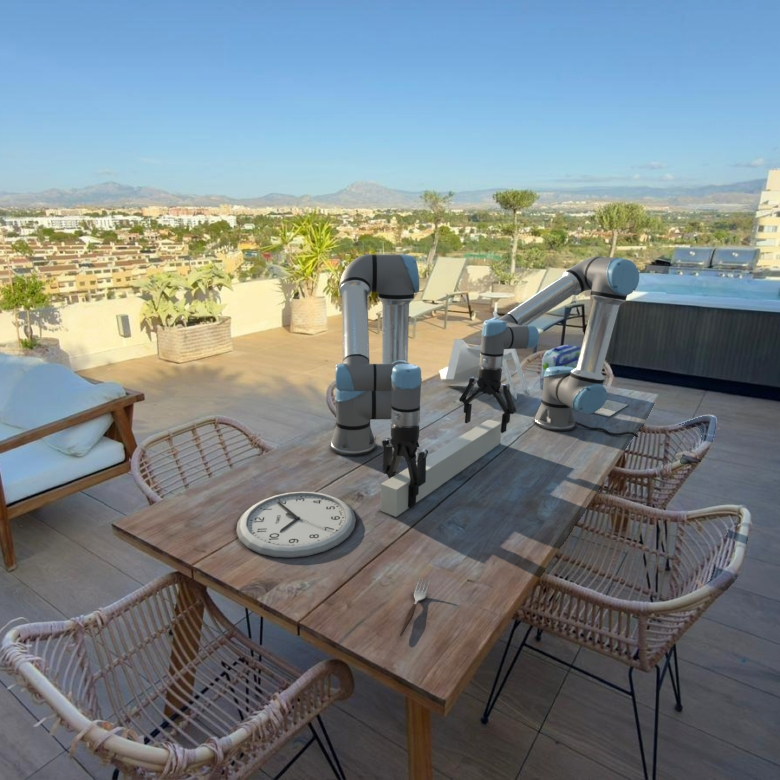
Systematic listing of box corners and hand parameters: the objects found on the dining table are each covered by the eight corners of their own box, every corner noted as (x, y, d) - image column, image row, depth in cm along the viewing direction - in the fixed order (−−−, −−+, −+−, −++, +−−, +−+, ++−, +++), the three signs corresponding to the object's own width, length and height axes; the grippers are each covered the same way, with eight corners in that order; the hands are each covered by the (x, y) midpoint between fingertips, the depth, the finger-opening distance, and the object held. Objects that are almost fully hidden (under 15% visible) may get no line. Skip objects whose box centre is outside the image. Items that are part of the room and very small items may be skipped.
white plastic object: (461, 429, 252) (437, 405, 227) (444, 352, 274) (420, 323, 250) (535, 404, 240) (518, 377, 215) (510, 326, 262) (492, 293, 237)
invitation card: (608, 416, 214) (573, 407, 224) (608, 416, 214) (573, 408, 224) (628, 404, 229) (594, 396, 238) (628, 405, 229) (594, 397, 238)
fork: (393, 636, 97) (393, 627, 97) (418, 584, 112) (419, 576, 111) (406, 640, 96) (407, 631, 96) (430, 587, 111) (430, 579, 110)
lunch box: (556, 397, 237) (562, 352, 231) (535, 392, 244) (540, 348, 238) (583, 386, 255) (589, 344, 248) (562, 381, 262) (567, 340, 256)
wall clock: (357, 549, 121) (224, 553, 118) (357, 555, 121) (224, 559, 118) (354, 487, 149) (247, 489, 147) (354, 492, 150) (247, 495, 147)
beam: (486, 440, 189) (488, 419, 186) (500, 443, 186) (501, 422, 183) (380, 510, 140) (380, 483, 138) (395, 517, 138) (396, 489, 135)
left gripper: (369, 419, 139) (368, 497, 146) (426, 435, 129) (423, 518, 136) (386, 412, 145) (385, 487, 152) (442, 427, 135) (438, 507, 142)
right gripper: (452, 362, 177) (448, 421, 183) (521, 376, 163) (514, 439, 169) (463, 358, 183) (458, 415, 189) (530, 371, 169) (523, 432, 175)
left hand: (403, 501), depth 144 cm, fingers closed on beam, 5 cm apart
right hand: (485, 426), depth 179 cm, fingers open, 13 cm apart
